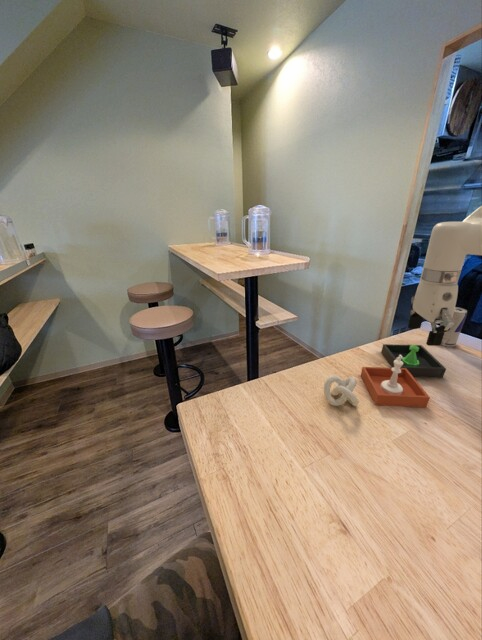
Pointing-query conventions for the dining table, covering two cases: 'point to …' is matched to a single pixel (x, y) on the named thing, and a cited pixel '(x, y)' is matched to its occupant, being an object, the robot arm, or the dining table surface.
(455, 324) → the energy drink
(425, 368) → the charcoal bin
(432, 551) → the dining table surface
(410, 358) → the game piece
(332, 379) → the knot
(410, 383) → the terracotta bin
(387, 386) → the chess piece
